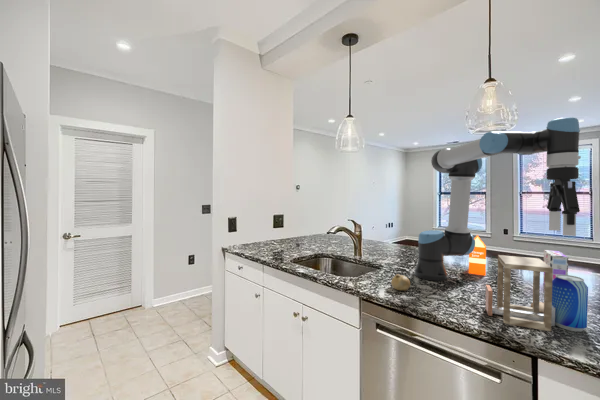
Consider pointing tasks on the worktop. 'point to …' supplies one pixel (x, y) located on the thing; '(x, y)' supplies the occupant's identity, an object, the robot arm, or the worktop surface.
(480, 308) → the worktop surface
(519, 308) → the wooden open frame
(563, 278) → the beer can
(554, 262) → the candy box
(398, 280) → the onion
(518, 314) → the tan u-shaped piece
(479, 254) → the orange juice
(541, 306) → the coaster
